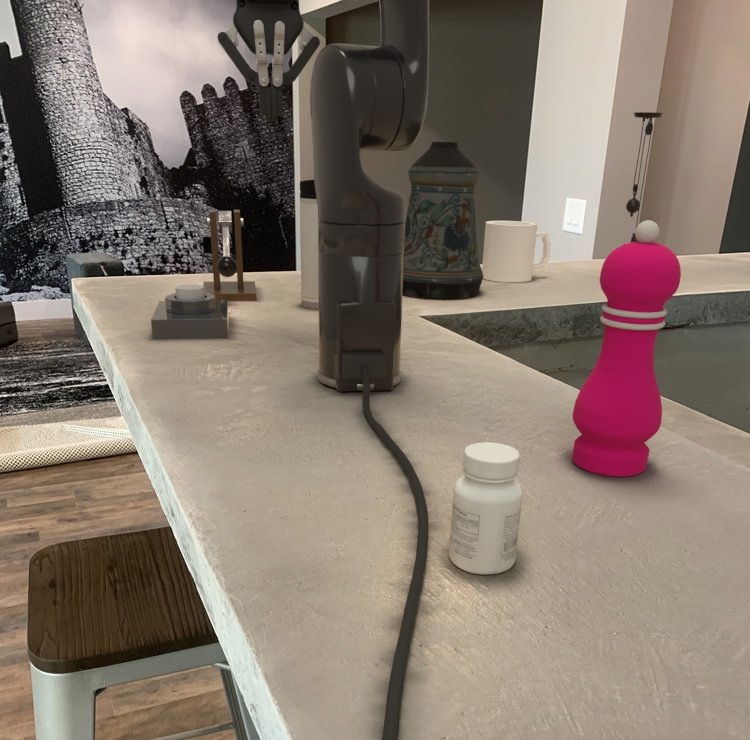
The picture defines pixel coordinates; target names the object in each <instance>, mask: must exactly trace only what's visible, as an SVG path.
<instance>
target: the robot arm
mask: <svg viewBox="0 0 750 740" xmlns="http://www.w3.org/2000/svg"><path fill="white" fill-rule="evenodd" d="M378 2H379V3H378V4H379V14H380V15H379V16H380V45H379V46H377V45H365V44H354V43H353V44H352V43H337V42H336V43H330V44H327V45H325V46H324V47H323V48H322V49H320V50H319V52H318V54H317V56H316V57H315V61H314V64H313V67H312V72H311V78H310V91H309V94H310V96H309V102H310V103H309V104H310V107H309V108H310V123H311V138H312V139H311V140H312V155H313V157H312V159H313V180H314V184H315V191H316V198H317V204H318V285H319V309H318V372H317V374H318V377H317V378H318V381H319V382H320V383H321V384H323V385H324V386H327V387H330V388H334V389H335V390H336V391H337V392H362V400H361V401H362V411H363V416H364V418H365V420H366V422H367V423H368V426H370V427H371V428H372V429H373V430H374V431H375V432H376V433H377V434H378V436H379V437H380V439H381V440H382V441H383V442H384V444H385V445H386V446H387V448H388V449H389V450H390V451H391V452H392V453H393V454H394V456H395V457H396V458H397V460H398V462H399V463H400V464H401V466H402V468H403V469H404V472H405V473H406V475H407V477H408V479H409V482H410V484H411V486H412V490H413V494H414V498H415V504H416V509H417V520H418V527H417V539H416V540H417V541H416V542H417V543H416V544H417V545H416V550H415V551H416V553H415V559H414V566H413V571H412V576H411V580H410V585H409V588H408V593H407V597H406V601H405V605H404V610H403V614H402V619H401V625H400V630H399V634H398V638H397V642H396V647H395V650H394V651H395V652H394V655H393V656H394V657H393V660H392V666H391V670H390V675H389V682H388V687H387V696H386V701H385V702H386V703H385V713H384V720H383V726H382V727H383V728H382V734H381V735H382V736H381V740H398V737H399V729H400V727H399V726H400V718H401V708H402V707H401V706H402V696H403V695H402V694H403V685H404V679H405V673H406V667H407V662H408V657H409V651H410V647H411V643H412V636H413V631H414V627H415V626H414V625H415V620H416V614H417V610H418V609H417V608H418V604H419V599H420V594H421V590H422V586H423V581H424V577H425V576H424V575H425V572H426V571H425V570H426V565H427V556H428V544H429V543H428V541H429V513H428V506H427V501H426V497H425V493H424V489H423V487H422V484H421V480H420V479H419V477H418V475H417V473H416V470H415V469H414V467H413V465H412V463H411V462H410V460H409V458H408V457H407V455H406V454H405V452H403V451H404V450H402V449H401V448H400V447H399V445H398V444H397V443H396V442H395V441H394V440H393V439H392V437H391V436H390V435H389V434H388V432H387V431H386V430H385V429H384V427H383V426H382V425H381V424H380V423H379V422H378V421H377V420H376V419H375V418H374V417H373V415H372V410H371V406H370V405H371V404H370V397H371V396H370V395H371V391H372V392H373V391H393V390H394V386H396V385H398V384H400V382H401V376H402V375H401V351H402V348H401V347H402V345H401V344H402V322H403V320H402V319H403V316H402V315H403V296H404V295H403V268H404V245H405V223H406V217H407V202H406V197H405V196H404V195H403V193H402V192H400V191H399V190H396V189H395V188H392V187H389V186H386V185H385V184H382V183H380V182H379V181H377V180H376V179H375V178H373V177H372V176H371V175H370V174H369V173H368V172H367V171H366V169H365V167H364V165H363V161H362V153H361V151H370V152H371V151H375V152H376V151H387V152H388V151H389V152H392V151H393V152H396V151H397V152H398V151H405V150H408V149H409V148H411V147H412V146H414V145H415V143H416V141H417V140H418V139H419V137H420V135H421V132H422V129H423V127H424V123H425V118H426V113H427V107H428V98H429V77H430V76H429V75H430V73H429V70H430V69H429V68H430V0H378ZM235 6H236V7H235V10H234V14H233V16H232V24H231V25H230V26H228V27H227V28H226V29H225V30H224V31H220V32H219V33H218V34H217V42H218V43H219V45H220V47H221V48H222V49H223V51H224V52H225V53H226V55H227V56H228V58H229V59H230V60H231V62H232V63H233V65H234V66H235V67H236V68H237V70H238V71H239V73H240V74H241V76H242V77H243V78H244V79H245V81H247V82H250V83H252V84H254V85H256V86H257V88H258V103H259V104H258V105H259V114H260V116H263V117H265V119H264V121H265V122H278V117H281V116H282V114H283V88H284V86H286V85H288V84H292V83H294V82H296V80H297V79H298V77H299V75H300V74H301V73H302V71H303V70H304V69H305V67H306V66H307V64H308V62H309V61H310V59H311V58H312V57H313V55H314V54H315V52H316V51H317V49H318V48H319V47H320V44H321V41H320V38H319V37H318V36H314V35H313V34H312V33H311V32H310V31H309V30H308V29H307V28H306V27H305V21H304V19H303V16H302V13H301V11H300V0H235ZM237 34H238V35H239V36H240V37H241V39H242V41H243V42H244V44H245V45H246V47H247V48H248V50H249V51H250V52H251V53H252V54H253V55H255V63H256V71H255V70H253V69H252V68H251V66H250V65H249V64H248V62H247V61H246V59H245V58H244V57H243V55H242V54H241V52H240V51H239V50H238V48H237V47H238V46H239V38H238V35H237ZM298 37H299V38H300V41H299V45H298V46H299V49H300V51H301V52H300V54H299V55H298V56H297V58H296V59H295V61H294V63H293V64H292V65H291V67H290V69H289V70H288V71H285V72H284V62H285V61H284V59H285V56H286V55H288V53H289V52H290V51H291V49H292V47H293V45H294V44H295V42H296V41H297V39H298ZM268 55H270V56H272V61H271V62H272V63H271V64H272V66H271V67H272V69H271V87H270V83H269V82H270V80H269V71H268V57H267V56H268Z"/></svg>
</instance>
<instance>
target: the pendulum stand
mask: <svg viewBox="0 0 750 740" xmlns="http://www.w3.org/2000/svg"><path fill="white" fill-rule="evenodd" d="M208 216H209V217H206V227H209V229H210V245H211V247H210V248H211V261H212V276H213V277H212V278H213V281H203V284H202V286H204V287H205V293H210V294H213V295H216V301H225V300H228V302H257V300H258V299H257V297H258V295H257V287H256V282H255V280H254V281H253V280H251V281H249V280H248V281H244V265H243V264H244V263H243V247H242V227H245V225H244V224H245V223H244V217H241V210H240V209H233V219H234V220H233V222H234V224H233V225H234V240H235V241H234V242H235V259H236V260H235V262H236V264H237V271H236V277H237V278H236V280H235V281H234V280H233V281H230V280H229V281H221V274H220V273H219V272H218V270H217V263H218V261H219V259H220V253H219V252H220V251H219V239H218V223H217V222H218V221H217V220H218V219H217V209H212V208H211V209H209V212H208Z"/></svg>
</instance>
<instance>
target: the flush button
mask: <svg viewBox="0 0 750 740" xmlns="http://www.w3.org/2000/svg"><path fill="white" fill-rule="evenodd" d="M174 289H175V293H176V299H182V300H196V299H203V298H205V287H204V286H203V284H194V283H193V284H191V283H190V284H189V283H188V284H180V285H176V286H175V287H174Z"/></svg>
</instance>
